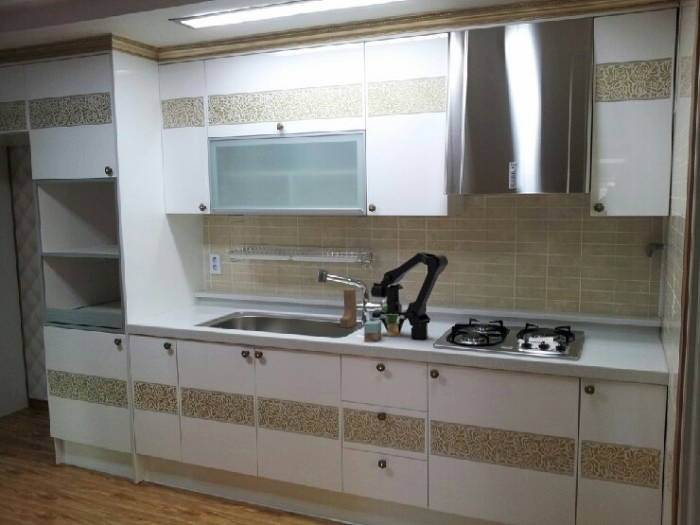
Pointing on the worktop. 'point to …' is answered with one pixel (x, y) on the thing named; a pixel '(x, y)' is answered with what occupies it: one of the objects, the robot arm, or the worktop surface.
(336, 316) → the worktop surface
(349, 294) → the wooden block
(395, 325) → the oak cube
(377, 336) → the base block
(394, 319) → the bell pepper
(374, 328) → the top block
